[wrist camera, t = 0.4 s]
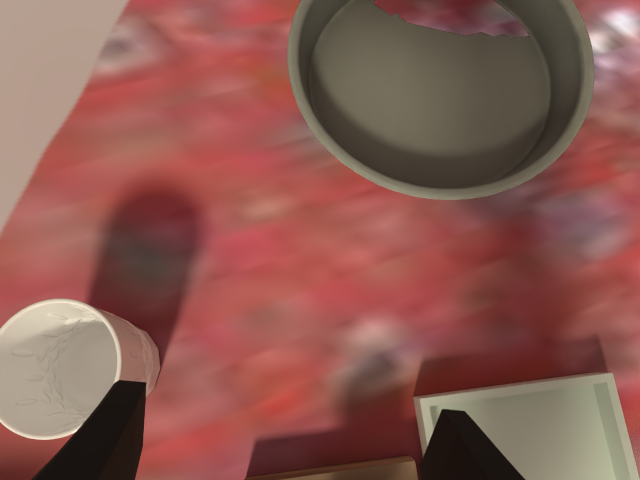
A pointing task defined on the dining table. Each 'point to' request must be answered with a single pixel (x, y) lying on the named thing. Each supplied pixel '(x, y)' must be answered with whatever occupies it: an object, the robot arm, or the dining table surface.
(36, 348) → the white cup
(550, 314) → the dining table surface
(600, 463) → the tray
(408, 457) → the socket block
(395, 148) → the cake pan
